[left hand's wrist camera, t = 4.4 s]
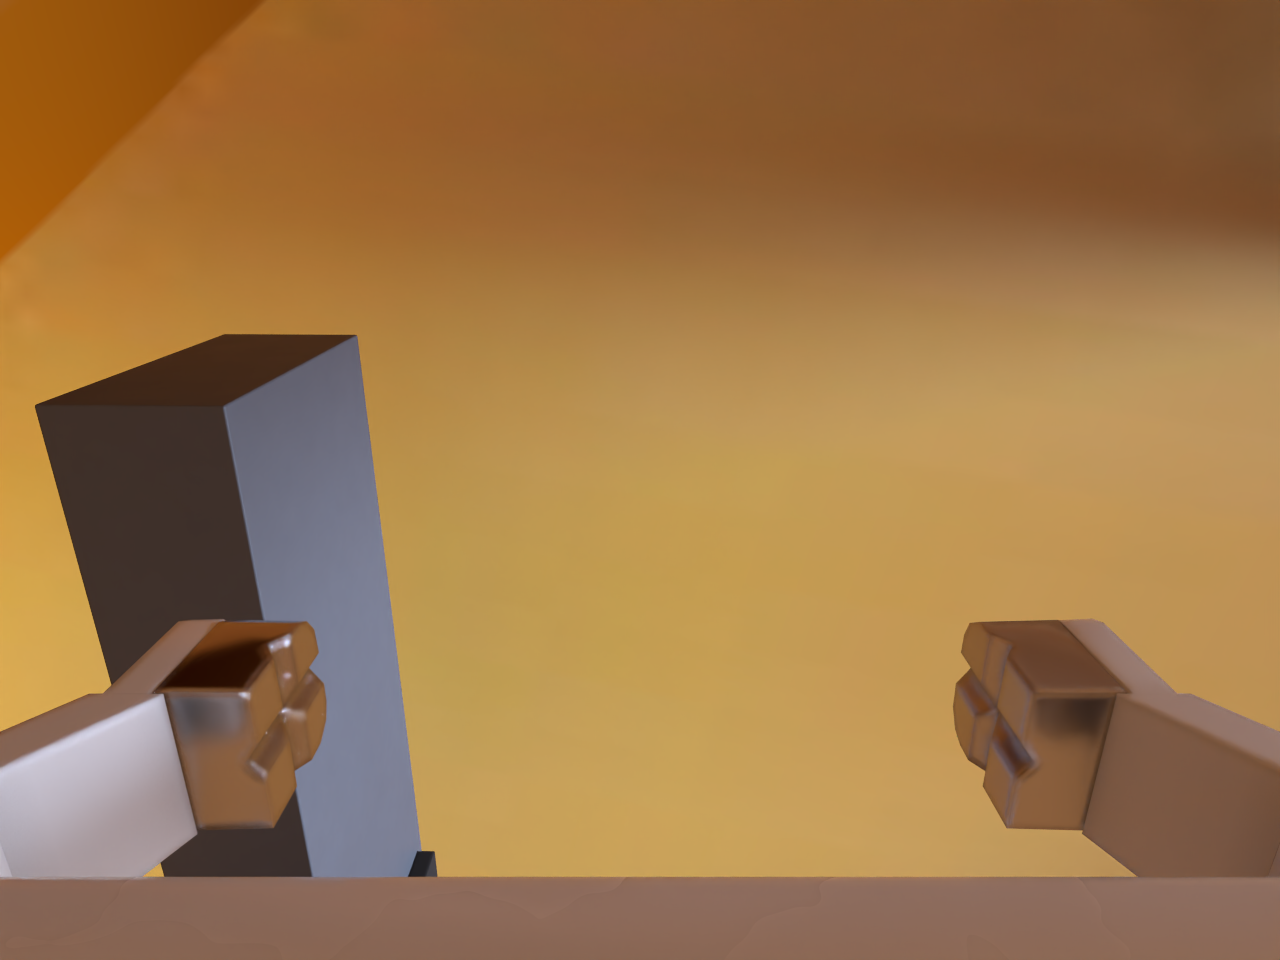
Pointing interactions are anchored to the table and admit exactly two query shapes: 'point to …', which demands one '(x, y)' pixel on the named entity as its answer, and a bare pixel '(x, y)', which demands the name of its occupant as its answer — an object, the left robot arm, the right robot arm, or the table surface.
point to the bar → (251, 566)
